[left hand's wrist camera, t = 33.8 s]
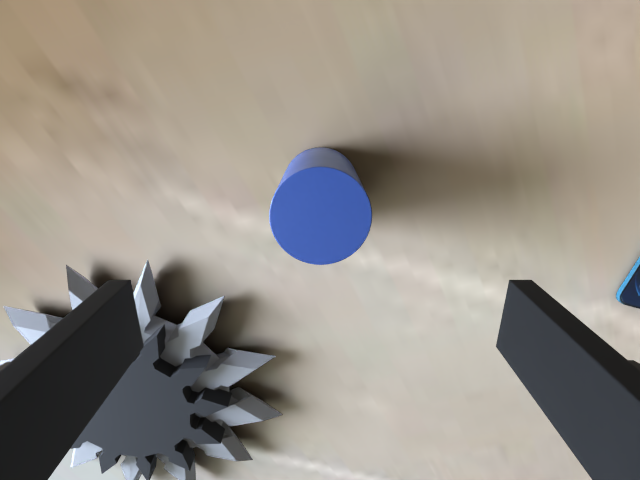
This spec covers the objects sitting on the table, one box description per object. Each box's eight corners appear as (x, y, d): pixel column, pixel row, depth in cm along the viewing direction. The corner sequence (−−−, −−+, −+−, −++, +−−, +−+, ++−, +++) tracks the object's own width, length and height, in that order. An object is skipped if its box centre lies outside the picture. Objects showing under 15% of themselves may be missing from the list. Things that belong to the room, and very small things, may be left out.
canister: (371, 171, 31) (391, 199, 22) (334, 232, 33) (339, 280, 24) (305, 132, 30) (299, 146, 21) (270, 199, 32) (252, 236, 23)
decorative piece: (256, 533, 42) (-21, 492, 39) (261, 498, 45) (8, 459, 43) (313, 307, 31) (-61, 234, 29) (313, 285, 35) (-18, 219, 33)
